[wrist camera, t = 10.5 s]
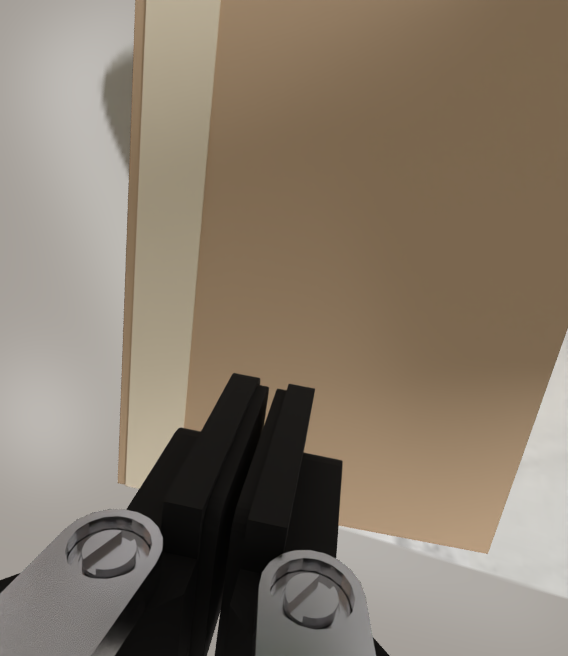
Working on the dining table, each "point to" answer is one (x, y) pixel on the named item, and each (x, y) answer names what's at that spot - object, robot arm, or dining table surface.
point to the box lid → (352, 238)
